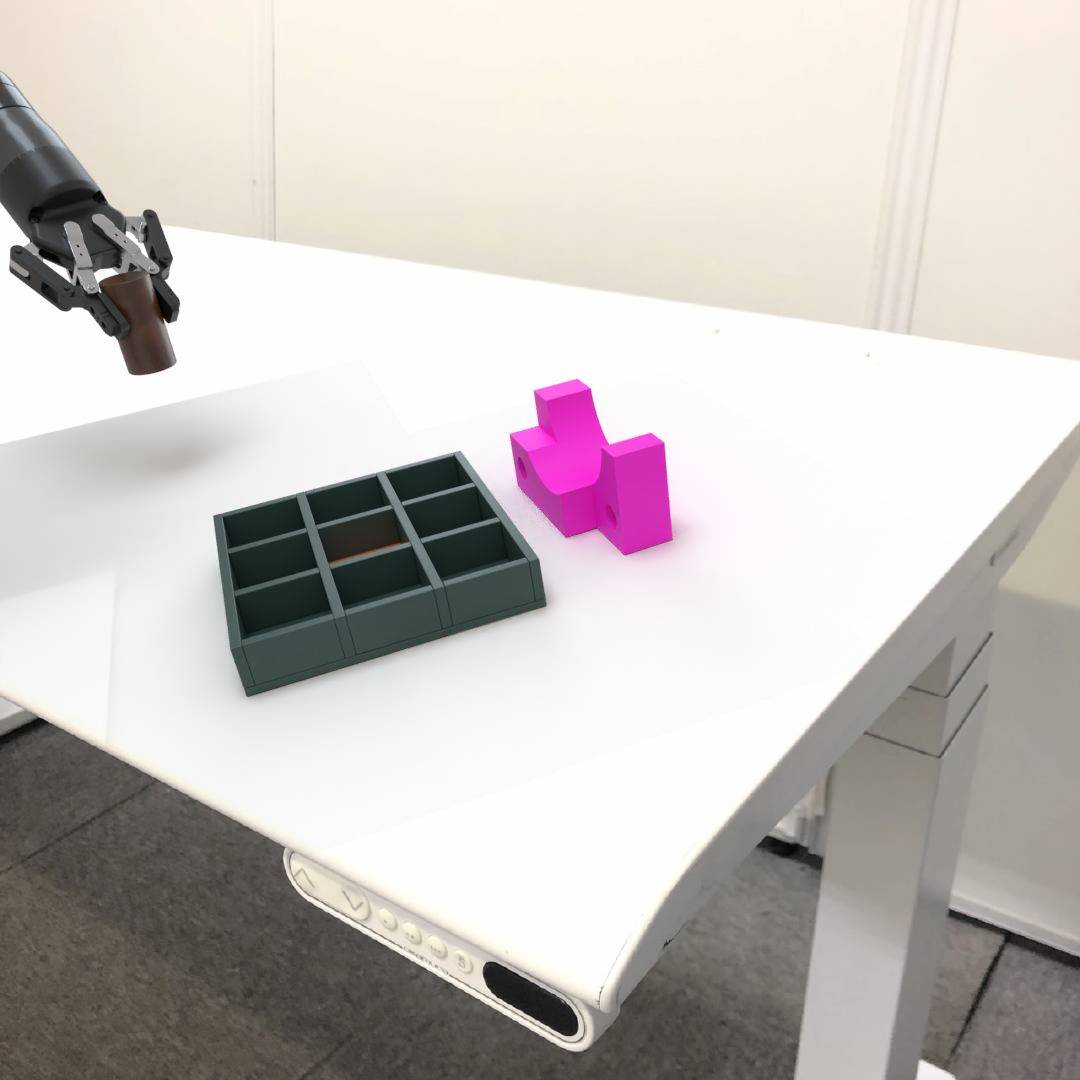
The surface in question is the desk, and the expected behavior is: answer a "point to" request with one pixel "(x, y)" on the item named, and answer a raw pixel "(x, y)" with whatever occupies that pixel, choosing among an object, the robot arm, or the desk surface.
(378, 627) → the grid
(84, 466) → the desk surface
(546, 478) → the toy block
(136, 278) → the cylinder
